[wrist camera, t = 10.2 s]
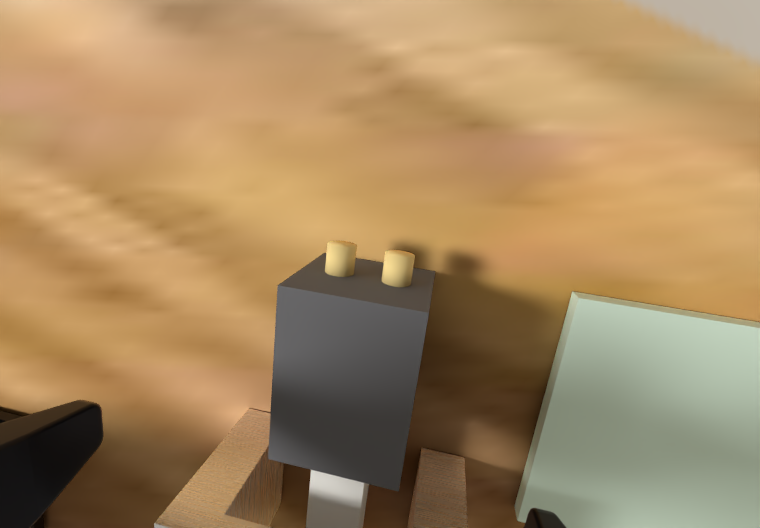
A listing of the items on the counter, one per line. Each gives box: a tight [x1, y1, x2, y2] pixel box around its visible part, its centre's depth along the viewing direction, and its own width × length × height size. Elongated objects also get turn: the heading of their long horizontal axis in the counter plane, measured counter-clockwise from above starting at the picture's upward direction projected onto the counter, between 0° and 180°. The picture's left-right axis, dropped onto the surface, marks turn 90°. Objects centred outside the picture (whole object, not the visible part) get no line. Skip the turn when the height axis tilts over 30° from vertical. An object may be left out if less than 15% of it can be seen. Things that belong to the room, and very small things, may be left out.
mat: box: [515, 291, 760, 528], centre depth 12 cm, size 8×8×1 cm
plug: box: [268, 241, 435, 528], centre depth 12 cm, size 13×4×4 cm, turn 173°
